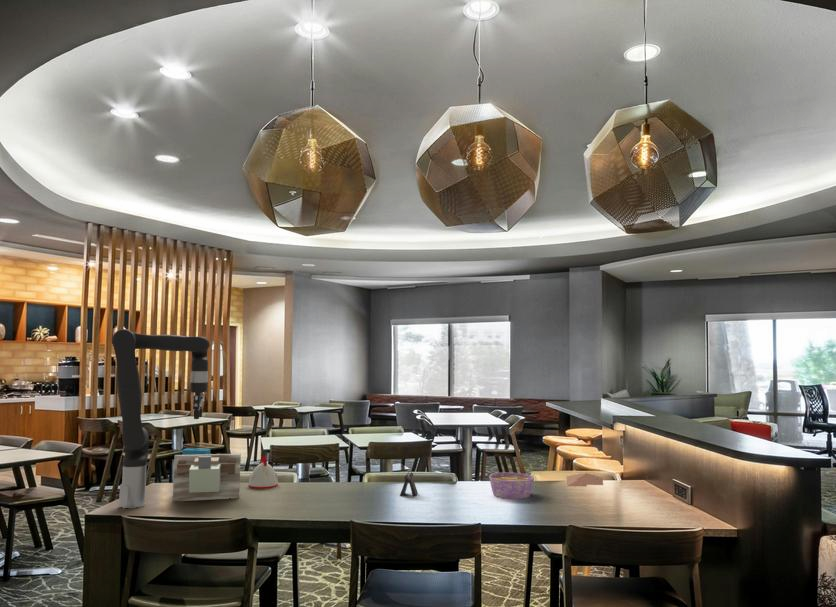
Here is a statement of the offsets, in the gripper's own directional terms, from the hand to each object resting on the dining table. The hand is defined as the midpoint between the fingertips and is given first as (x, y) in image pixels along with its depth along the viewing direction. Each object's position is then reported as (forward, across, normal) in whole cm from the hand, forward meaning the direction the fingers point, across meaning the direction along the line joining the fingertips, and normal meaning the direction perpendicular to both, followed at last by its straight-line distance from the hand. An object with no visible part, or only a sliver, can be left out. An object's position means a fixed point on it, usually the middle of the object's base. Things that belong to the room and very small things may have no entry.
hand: (197, 418), depth 285 cm
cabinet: (+30, -9, -5) cm, 31 cm away
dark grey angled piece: (+36, -13, -94) cm, 101 cm away
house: (+37, -4, -184) cm, 187 cm away
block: (+36, +15, +2) cm, 39 cm away
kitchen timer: (+36, +24, -28) cm, 52 cm away
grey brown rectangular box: (+36, -1, -5) cm, 36 cm away
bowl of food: (+36, -25, -138) cm, 145 cm away
